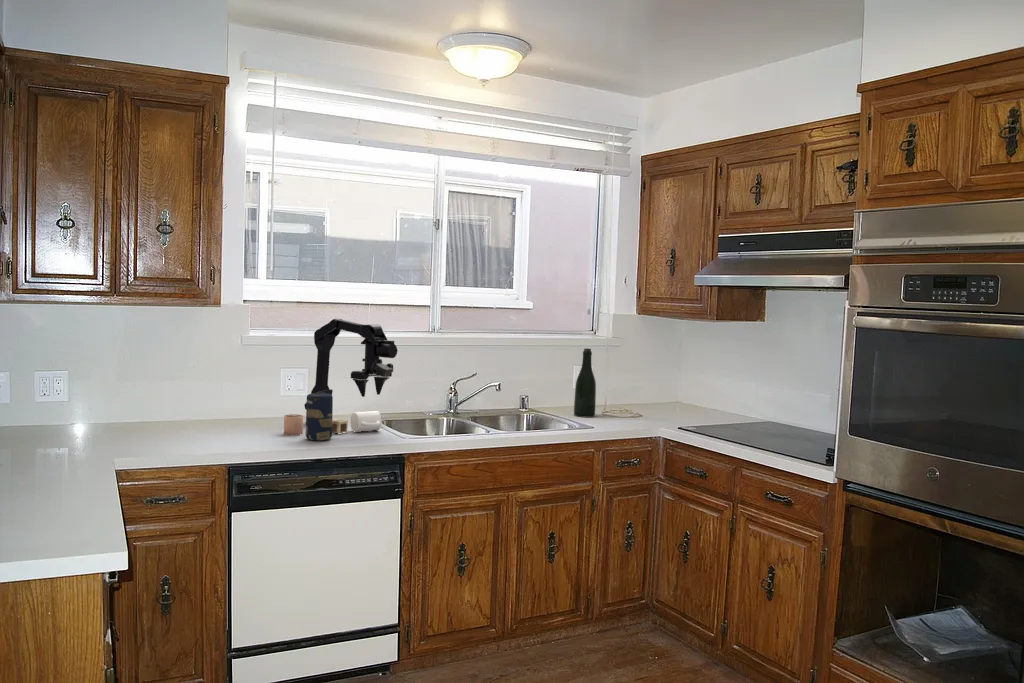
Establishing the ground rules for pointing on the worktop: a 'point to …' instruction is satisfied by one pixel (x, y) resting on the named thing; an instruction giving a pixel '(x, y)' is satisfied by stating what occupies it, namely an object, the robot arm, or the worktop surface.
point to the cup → (293, 424)
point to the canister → (319, 416)
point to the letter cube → (339, 426)
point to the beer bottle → (585, 388)
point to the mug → (365, 421)
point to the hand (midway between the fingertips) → (370, 395)
